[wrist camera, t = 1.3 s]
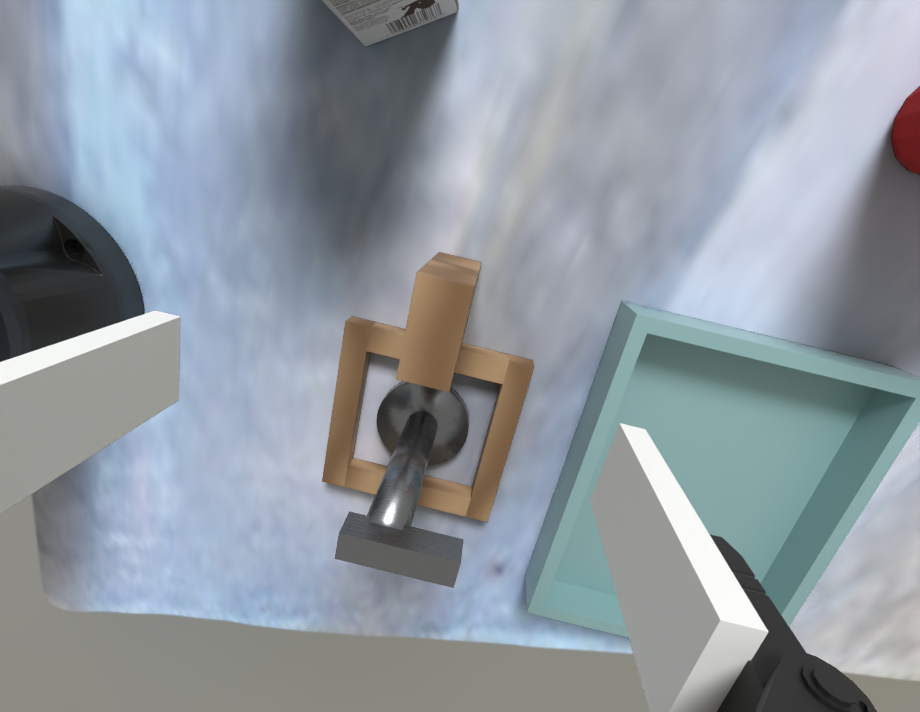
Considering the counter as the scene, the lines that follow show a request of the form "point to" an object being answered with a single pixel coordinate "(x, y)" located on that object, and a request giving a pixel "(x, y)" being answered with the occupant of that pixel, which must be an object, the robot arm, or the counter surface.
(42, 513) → the counter surface
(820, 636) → the counter surface
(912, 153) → the plastic cup
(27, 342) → the robot arm
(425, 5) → the coffee box
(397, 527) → the grey metal stand
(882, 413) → the tray
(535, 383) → the counter surface
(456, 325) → the ring
